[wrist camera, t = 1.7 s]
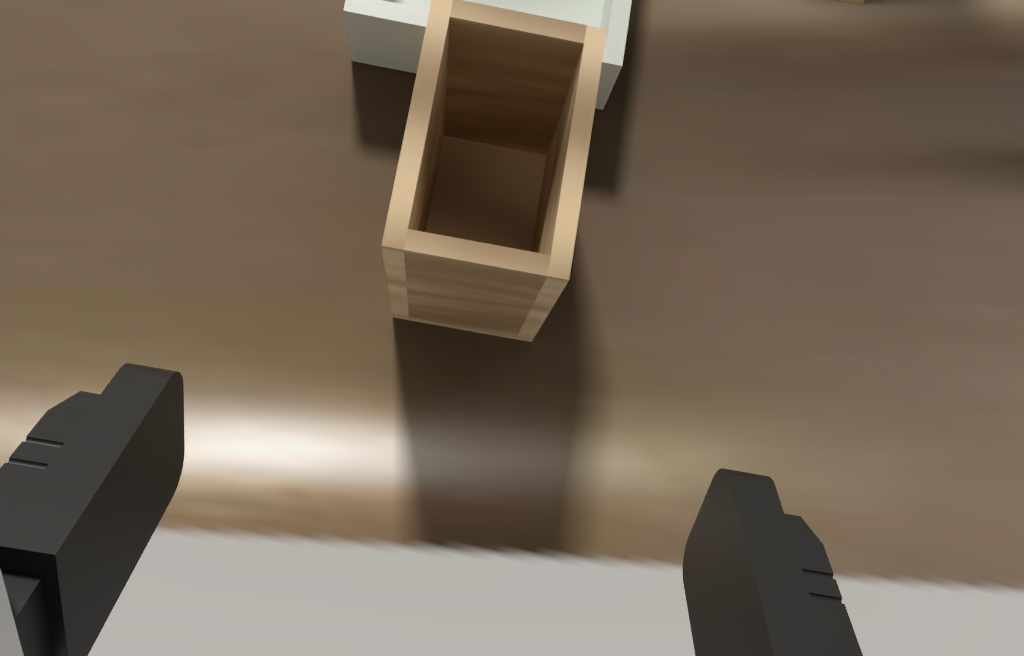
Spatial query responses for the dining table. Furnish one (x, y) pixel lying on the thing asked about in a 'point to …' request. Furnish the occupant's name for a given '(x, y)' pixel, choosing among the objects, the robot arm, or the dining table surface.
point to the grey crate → (406, 3)
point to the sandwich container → (854, 1)
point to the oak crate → (491, 169)
